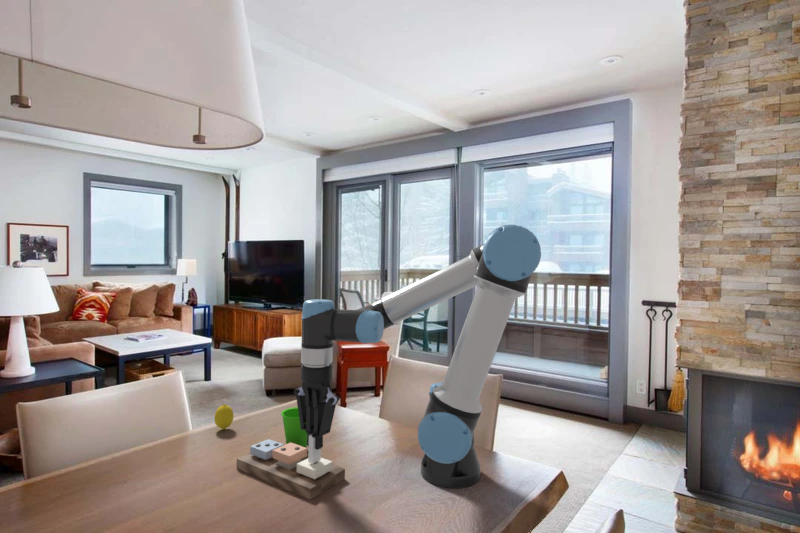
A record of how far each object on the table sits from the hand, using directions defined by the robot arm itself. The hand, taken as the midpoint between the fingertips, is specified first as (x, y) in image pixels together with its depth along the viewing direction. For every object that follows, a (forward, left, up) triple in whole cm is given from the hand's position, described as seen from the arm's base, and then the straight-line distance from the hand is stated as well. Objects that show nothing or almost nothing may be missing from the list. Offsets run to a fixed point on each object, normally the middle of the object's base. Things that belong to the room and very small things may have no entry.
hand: (314, 460), depth 110 cm
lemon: (+46, -8, -6) cm, 47 cm away
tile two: (+8, 0, -4) cm, 9 cm away
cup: (+17, -11, -6) cm, 21 cm away
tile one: (0, 0, -5) cm, 5 cm away
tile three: (+17, 0, -5) cm, 18 cm away
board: (+8, 0, -6) cm, 10 cm away
